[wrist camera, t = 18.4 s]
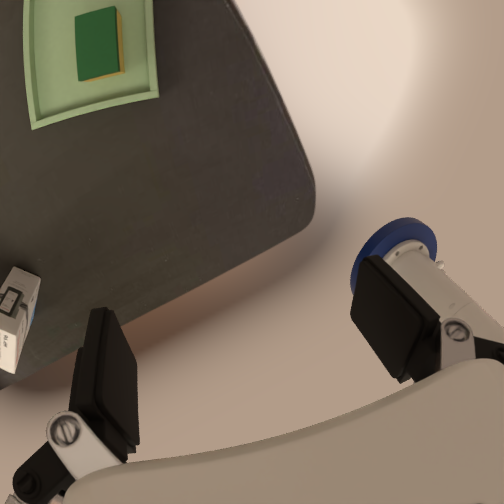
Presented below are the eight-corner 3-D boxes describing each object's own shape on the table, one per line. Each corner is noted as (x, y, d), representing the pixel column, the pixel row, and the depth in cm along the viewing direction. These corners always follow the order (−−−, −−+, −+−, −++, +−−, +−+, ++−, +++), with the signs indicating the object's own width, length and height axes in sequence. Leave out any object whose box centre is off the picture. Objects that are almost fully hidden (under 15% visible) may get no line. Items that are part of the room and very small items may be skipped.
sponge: (85, 24, 21) (74, 16, 17) (121, 15, 22) (114, 5, 18) (89, 82, 25) (78, 81, 21) (125, 73, 26) (118, 70, 22)
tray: (32, -18, 15) (25, -23, 14) (152, -53, 18) (152, -60, 16) (38, 127, 26) (31, 130, 24) (159, 96, 28) (158, 97, 27)
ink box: (34, 318, 37) (10, 393, 25) (8, 306, 35) (-22, 378, 23) (42, 277, 35) (9, 355, 22) (13, 263, 32) (-28, 337, 20)
